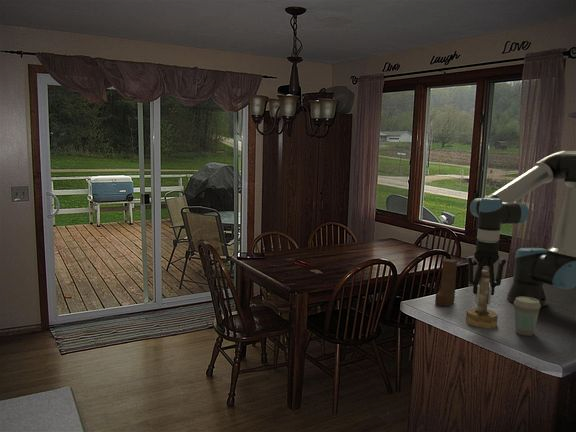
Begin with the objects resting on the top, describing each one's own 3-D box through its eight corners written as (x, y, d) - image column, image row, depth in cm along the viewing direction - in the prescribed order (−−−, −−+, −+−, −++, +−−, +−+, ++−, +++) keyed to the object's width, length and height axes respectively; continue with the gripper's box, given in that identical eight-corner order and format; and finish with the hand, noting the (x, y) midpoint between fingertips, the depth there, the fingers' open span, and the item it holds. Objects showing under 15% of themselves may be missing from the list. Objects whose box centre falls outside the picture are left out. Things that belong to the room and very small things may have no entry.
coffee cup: (536, 339, 164) (540, 305, 162) (509, 333, 168) (512, 300, 166) (539, 331, 171) (542, 298, 169) (512, 326, 175) (515, 294, 174)
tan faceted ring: (491, 318, 182) (492, 308, 182) (499, 328, 173) (500, 317, 172) (464, 316, 184) (465, 306, 183) (470, 326, 174) (470, 315, 174)
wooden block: (445, 307, 195) (448, 264, 192) (434, 304, 198) (437, 262, 195) (454, 302, 201) (457, 260, 198) (444, 299, 204) (447, 258, 202)
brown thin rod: (470, 308, 194) (470, 307, 194) (473, 308, 194) (473, 307, 194) (476, 317, 183) (476, 316, 183) (480, 317, 183) (480, 316, 183)
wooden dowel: (485, 312, 179) (489, 270, 177) (487, 315, 176) (491, 272, 173) (475, 311, 180) (479, 269, 177) (477, 314, 176) (481, 272, 174)
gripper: (508, 239, 176) (503, 301, 180) (462, 237, 179) (457, 298, 182) (514, 243, 169) (508, 307, 172) (466, 241, 171) (461, 304, 175)
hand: (482, 302), depth 177 cm, fingers closed on wooden dowel, 3 cm apart
